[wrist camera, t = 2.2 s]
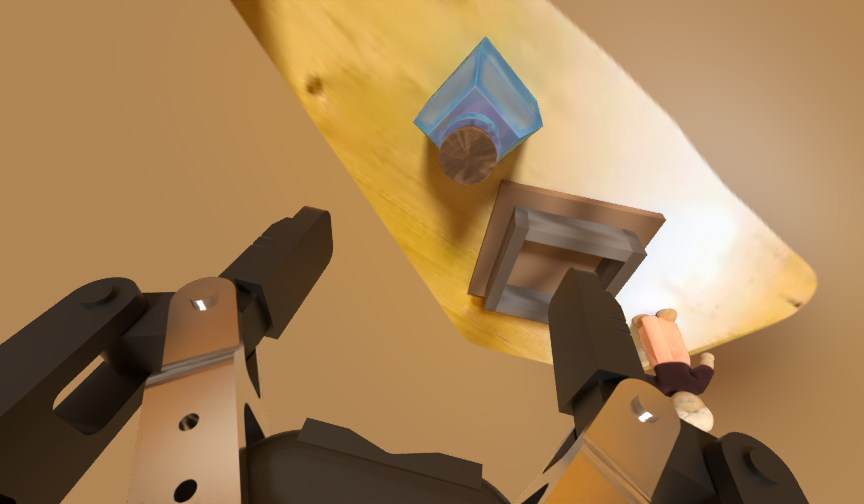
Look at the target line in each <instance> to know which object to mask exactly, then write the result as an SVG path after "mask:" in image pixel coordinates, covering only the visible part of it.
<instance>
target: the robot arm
mask: <svg viewBox="0 0 864 504" xmlns="http://www.w3.org/2000/svg"><path fill="white" fill-rule="evenodd" d="M332 252H333V240H332V228H331V216H330V213H329V212H328V211H326V210H321V209H317V208H313V207H308V206H304V207H303V208H302V209H301V210H300V211H299V212H298V213H297V214H296V215H295V216H294V217H293V218H288V217H286V218H284V219H282V220H280V221H278V222H276V223H274V224H272V225H271V226H270V227H269V228H268V229H267V230H266V231H265V232H264V233H263V234H262V236H261V237H259V238H258V239H257V240H255V242H254V243H253V245H250V247H248V248H247V249H246V250H245V251H244V252H243V253H242V254H241V255H240V256H239V257H238V258H237V259H236V260H235V261H234V262H233V263H232V264H231V265H230V266H229V267H228V268H227V269H226V270H225V271H224V272H223V273H221V274H220V275H219V276H218V277H207V278H202V279H198V280H195V281H192V282H190V283H188V284H186V285H185V286H183V287H182V288H180V289H179V290H178V291H177V292H160V293H158V292H157V293H142V292H141V291H140V289H139V288H138V286H137V285H136V283H135V282H134V281H132V280H130V279H127V278H121V277H116V278H115V277H113V278H106V279H101V280H97V281H94V282H91V283H88V284H86V285H84V286H82V287H80V288H78V289H76V290H75V291H73V292H72V293H70V294H69V295H68V296H66V297H65V298H64V299H62V300H61V301H59V302H58V303H57V304H55V305H54V306H53V307H51V308H50V309H48V311H46V312H44V313H43V314H42V315H40V316H39V317H38V318H36V319H35V320H34V321H32V322H31V323H30V324H28V325H27V326H25V327H24V328H23V329H21V330H20V331H19V332H17V333H16V334H14V335H13V336H12V337H11V338H9V339H8V340H6V341H5V342H4V343H2V344H1V345H0V504H60V502H61V501H62V500H63V499H64V498H65V496H66V495H67V494H68V493H69V492H70V490H71V489H72V488H73V487H74V485H75V484H76V483H77V482H78V481H79V479H80V478H81V477H82V476H83V475H84V473H85V472H86V471H87V470H88V469H89V467H90V466H91V465H92V463H94V461H95V460H96V459H97V458H98V457H99V455H100V454H101V453H102V451H103V450H104V449H105V448H106V447H107V446H108V444H109V443H110V442H111V441H112V439H113V438H114V437H115V436H116V435H117V434H118V432H119V431H120V430H121V429H122V427H123V426H124V425H125V424H126V423H127V421H128V420H129V419H130V418H131V417H132V415H133V414H134V413H135V412H136V411H137V409H138V408H139V407H140V406H141V404H142V407H141V414H140V420H139V427H138V433H137V440H136V446H135V454H134V460H133V466H132V473H131V479H130V486H129V492H128V500H127V504H511V503H510V502H509V501H508V500H507V498H506V497H505V496H504V495H503V494H502V493H501V492H500V491H499V490H498V489H497V488H495V487H494V486H493V485H492V484H490V483H489V482H488V481H486V480H485V479H483V478H482V464H479V463H475V462H472V461H468V460H464V459H460V458H456V457H453V456H449V455H445V454H442V453H413V454H390V453H387V452H385V451H384V450H382V449H380V448H379V447H377V446H376V445H374V444H373V443H371V442H369V441H368V440H366V439H365V438H363V437H361V436H360V435H358V434H357V433H355V432H353V431H352V430H350V429H348V428H344V427H340V426H337V425H333V424H329V423H325V422H322V421H318V420H314V419H310V418H307V419H306V421H305V423H304V425H303V428H302V429H301V430H292V431H286V432H282V433H278V434H275V435H272V436H271V431H270V426H269V421H268V417H267V413H266V409H265V403H264V396H263V386H262V377H261V368H260V359H259V350H258V346H257V345H258V344H259V342H260V341H261V339H262V338H263V337H264V336H266V337H270V338H274V339H278V338H279V337H280V335H281V334H282V332H283V331H284V329H285V328H286V326H287V325H288V323H289V322H290V320H291V319H292V317H293V316H294V314H295V313H296V311H297V310H298V308H299V307H300V305H301V304H302V302H303V301H304V300H305V298H306V297H307V295H308V294H309V292H310V291H311V289H312V288H313V286H314V284H315V283H316V282H317V280H318V279H319V277H320V276H321V274H322V273H323V271H324V270H325V268H326V267H327V265H328V264H329V262H330V259H331V257H332ZM548 321H549V330H550V339H551V347H552V356H553V364H554V373H555V382H556V390H557V399H558V407H559V412H561V413H565V414H569V415H573V416H574V422H575V426H574V427H573V428H572V429H571V430H570V432H569V433H568V434H567V436H566V437H565V439H564V440H563V441H562V443H561V444H560V445H559V447H558V448H557V450H556V451H555V452H554V454H553V455H552V457H551V458H550V459H549V461H548V462H547V463H546V465H545V466H544V468H543V469H542V470H541V472H540V473H539V475H538V476H537V477H536V478H535V480H534V481H533V482H532V483H531V485H530V486H529V487H528V488H527V489H526V490H525V491H524V492H523V494H522V495H521V496H520V497H519V499H518V500H517V501H516V502H515V504H809V503H808V501H807V499H806V497H805V495H804V493H803V492H802V490H801V488H800V486H799V484H798V482H797V480H796V479H795V477H794V476H793V474H792V472H791V471H790V469H789V468H788V467H787V465H786V464H785V463H784V462H783V461H782V460H781V459H780V458H779V457H778V456H777V455H776V454H775V453H774V452H773V451H772V450H771V449H770V448H768V447H767V446H766V445H764V444H763V443H762V442H760V441H758V440H757V439H755V438H753V437H751V436H749V435H746V434H743V433H739V432H731V433H728V434H726V435H724V436H722V437H721V438H719V439H718V438H716V437H714V436H712V435H710V434H709V433H707V432H705V431H703V430H701V429H700V428H698V427H696V426H694V425H692V424H690V423H688V422H686V421H685V420H683V419H681V418H679V416H678V413H677V411H676V409H675V408H674V406H673V405H672V403H671V402H670V401H669V399H668V398H667V397H666V396H665V395H664V394H663V393H662V392H661V391H659V390H658V389H657V388H655V387H654V386H652V385H651V384H649V383H648V381H647V378H646V376H645V373H644V370H643V367H642V364H641V361H640V359H639V356H638V353H637V350H636V347H635V344H634V342H633V339H632V336H630V330H629V327H628V325H627V324H626V319H625V316H624V313H623V311H622V308H621V306H620V304H619V303H618V302H617V301H616V299H615V298H614V297H613V296H612V294H611V293H610V292H607V291H603V289H602V286H601V283H600V279H599V276H598V274H597V273H595V272H591V271H587V270H582V269H578V268H573V267H571V268H569V269H568V271H567V272H566V274H565V276H564V277H563V279H562V281H561V283H560V284H559V286H558V288H557V290H556V291H555V293H554V295H553V297H552V299H551V301H550V304H549V308H548ZM98 355H100V356H101V357H102V358H103V359H104V361H103V362H102V363H101V364H100V365H99V366H98V367H97V368H96V369H95V370H94V371H93V372H92V373H91V374H90V375H89V376H88V377H87V378H86V379H85V380H84V381H83V382H82V383H81V384H80V385H79V386H78V387H77V388H76V389H75V390H74V391H73V392H72V393H70V394H69V395H68V396H67V397H66V398H65V399H64V400H63V401H62V402H61V403H60V404H59V405H58V406H57V407H56V408H55V409H54V410H53V404H54V401H55V399H56V397H57V396H58V394H59V393H60V392H61V391H62V390H63V389H64V388H65V387H66V386H67V385H68V384H69V383H70V382H71V381H72V380H73V379H74V378H75V377H76V376H77V375H78V374H79V373H80V372H81V371H83V370H84V369H85V368H86V367H87V366H88V365H89V364H90V363H91V362H92V361H93V360H94V359H95V358H96V357H97V356H98Z"/></svg>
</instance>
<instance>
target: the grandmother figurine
mask: <svg viewBox="0 0 864 504" xmlns="http://www.w3.org/2000/svg"><path fill="white" fill-rule="evenodd" d="M676 317H677V312H676V311H675V310H673V309H664V310H661V311H659V312H658V313H657V317H656V316H649V315H646V314H644V315H638V316H635V317H634V318H633V320H632V321H633V323H634V324H635V325H636V326H637V327H638V328H639V329H638V333H639V336H640V340H641V343H642V347H643V349H644V352H645V354H646V357H647V359H648V361H649V364H650V366H651V367H652V369H653V370H654V371H655V373H656V376H652V375H648V374H645V376H646V378H647V381H648V383H649V384H651V385H652V386H654V387H655V388H657V389H658V390H659V391H661V392H662V393H663V394H664V395H665V396H668V397H671V400H670V402H671V403H672V405H673V406H674V408H675V409H676V411H677V413H678V416H679V418H681V419H683V420H685V421H686V422H688V423H690V424H692V425H694V426H696V427H698V428H700V429H701V430H703V431H705V432H707V431H709V430H710V429H711V428H712V426H713V417H712V414H711V412H710V411H709V410H708V408H707V407H705V406H704V404H703V403H702V401H701V400H700V399H699V398H698V397H697V396H696V395H699V394H702V393H703V392H704V391H705V389H706V388H707V386H708V384H709V383H710V380H711V378H712V376H713V374H714V370H713V367H714V364H713V361H714V356H713V355H712V354H710V353H704V354H702V355H701V359H702V360H701V362H700V366H699V367H696V368H694V369H691V368H690V358H689V355H688V352H687V349H686V347H685V344H684V341H683V339H682V336H681V333H680V331H679V329H678V327H677V324H676V323H675V322H674V321H675V319H676Z"/></svg>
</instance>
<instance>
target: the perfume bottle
mask: <svg viewBox="0 0 864 504" xmlns="http://www.w3.org/2000/svg"><path fill="white" fill-rule="evenodd" d="M413 123H414V124H415V125H416V126H417V127H418V128H419V129H420V130H421V131H422V132H423V133H424V134H425V135H426V136H427V137H428V138H429V139H430V140H431V141H432V142H433V143H434V144H435V145H436V146H437V147H438V148H439V149H440V150H439V163H440V166H441V169H442V170H443V172H444V173H445V174H446V176H447V177H449V178H450V179H451V180H453V181H454V182H457V183H460V184H467V185H472V184H476V183H480V182H481V181H483V180H485V179H487V178H488V176H489V175H490V174H491V173H492V172H493V170H494V168H495V166H496V164H497V163H498V162H499V161H500V160H502V159H503V158H504V157H505V156H506V155H508V154H509V153H510V152H511V151H513V150H514V149H515V148H516V147H518V146H519V145H520V144H521V143H523V142H524V141H525V140H526V139H527V138H529V137H530V136H531V135H532V134H534V133H535V132H536V131H537V130H539V129H540V128H541V127H542V126H543V123H542V119H541V115H540V112H539V108H538V104H537V101H536V99H535V98H534V97H533V95H532V94H531V93H530V92H529V90H528V89H527V88H526V87H525V85H524V84H523V83H522V81H521V80H520V79H519V78H518V76H517V75H516V74H515V73H514V71H513V70H512V69H511V67H510V66H509V65H508V64H507V62H506V61H505V60H504V59H503V57H502V56H501V55H500V53H499V52H498V51H497V50H496V48H495V47H494V46H493V45H492V43H491V42H490V41H489V39H488V38H487V37H485V38H484V39H483V40H482V41H481V42H480V43H479V44H478V46H477V47H476V48H475V49H474V50H473V51H472V52H471V53H470V55H469V56H468V57H467V58H466V59H465V60H464V61H463V62H462V63H461V65H460V66H459V67H458V68H457V69H456V70H455V71H454V72H453V74H452V75H451V76H450V77H449V78H448V79H447V80H446V81H445V82H444V84H443V85H442V86H441V87H440V88H439V89H438V90H437V91H436V93H435V94H434V95H433V96H432V97H431V98H430V99H429V101H428V102H427V103H426V105H425V106H424V107H423V109H422V110H421V112H420V113H419V114H418V116H417V117H416V118H415V120H414V121H413Z"/></svg>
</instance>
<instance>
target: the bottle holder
mask: <svg viewBox="0 0 864 504" xmlns="http://www.w3.org/2000/svg"><path fill="white" fill-rule="evenodd" d="M665 221H666V219H665V218H664V216H663V215H662V214H660V213H655V212H650V211H646V210H641V209H636V208H631V207H627V206H622V205H617V204H613V203H608V202H603V201H598V200H594V199H589V198H584V197H580V196H575V195H570V194H565V193H561V192H556V191H551V190H547V189H542V188H537V187H532V186H528V185H523V184H518V183H514V182H509V181H504V180H502V181H501V184H500V188H499V191H498V194H497V197H496V201H495V204H494V207H493V210H492V214H491V217H490V220H489V223H488V227H487V230H486V233H485V236H484V240H483V243H482V246H481V249H480V253H479V256H478V259H477V262H476V266H475V269H474V272H473V275H472V279H471V282H470V285H469V289H468V293H469V294H473V295H477V296H482V297H485V305H484V309H486V310H491V311H495V312H499V313H504V314H508V315H512V316H516V317H521V318H525V319H529V320H533V321H538V322H542V323H546V324H549V321H548V308H549V304H550V301H551V299H552V297H553V295H554V293H555V291H556V290H557V288H558V286H559V284H560V283H561V281H562V279H563V277H564V276H565V274H566V272H567V271H568V269H569V268H571V267H573V268H578V269H582V270H587V271H591V272H595V273H597V274H598V276H599V279H600V283H601V286H602V289H603V291H607V292H610V293H611V294H612V296H613V297H614V298H615V297H616V295H617V294H618V293H619V291H620V290H621V289H622V287H623V286H624V285H625V283H626V282H627V281H628V280H629V278H630V277H631V276H632V274H633V273H634V272H635V270H636V269H637V268H638V266H639V265H640V264H641V263H642V261H643V260H644V259H645V257H646V256H647V253H646V251H645V248H646V246H647V245H648V244H649V242H650V241H651V240H652V238H653V237H654V236H655V234H656V233H657V232H658V230H659V229H660V227H661V226H662V225H663V223H664V222H665Z"/></svg>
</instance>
